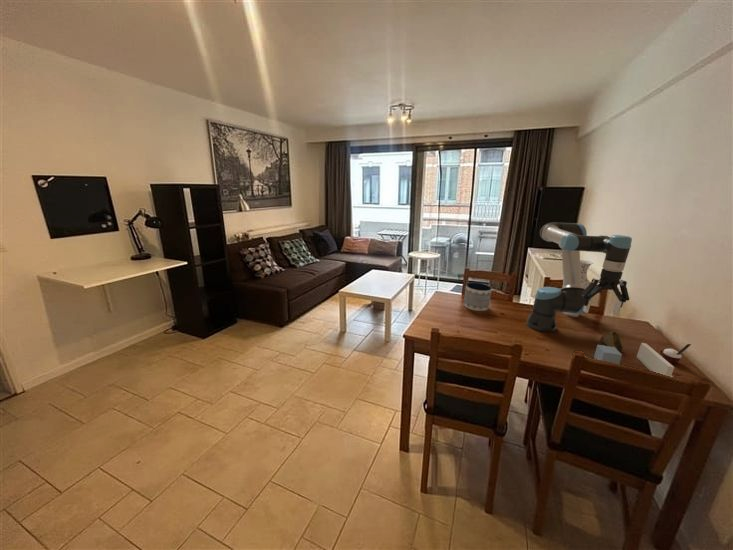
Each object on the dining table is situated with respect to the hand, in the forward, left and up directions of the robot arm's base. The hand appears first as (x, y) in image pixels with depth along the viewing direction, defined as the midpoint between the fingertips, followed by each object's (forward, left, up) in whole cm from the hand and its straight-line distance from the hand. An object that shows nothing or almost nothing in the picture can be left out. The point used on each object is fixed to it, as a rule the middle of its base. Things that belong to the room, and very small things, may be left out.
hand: (600, 312), depth 142 cm
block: (+4, -7, -22) cm, 24 cm away
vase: (+8, +51, -22) cm, 56 cm away
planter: (-51, +43, -22) cm, 70 cm away
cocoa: (+35, +4, -22) cm, 42 cm away
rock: (+14, +12, -22) cm, 29 cm away
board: (+25, -7, -22) cm, 34 cm away
